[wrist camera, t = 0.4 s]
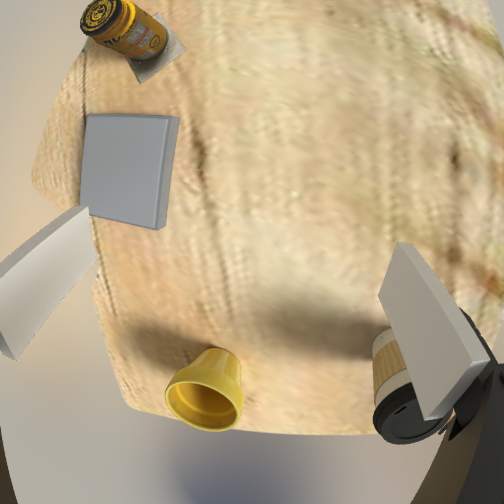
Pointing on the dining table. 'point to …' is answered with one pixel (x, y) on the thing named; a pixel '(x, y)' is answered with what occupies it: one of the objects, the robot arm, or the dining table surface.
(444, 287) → the robot arm
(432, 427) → the coffee cup
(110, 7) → the condiment
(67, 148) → the dining table surface
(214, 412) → the plant pot
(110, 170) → the grey square coaster
